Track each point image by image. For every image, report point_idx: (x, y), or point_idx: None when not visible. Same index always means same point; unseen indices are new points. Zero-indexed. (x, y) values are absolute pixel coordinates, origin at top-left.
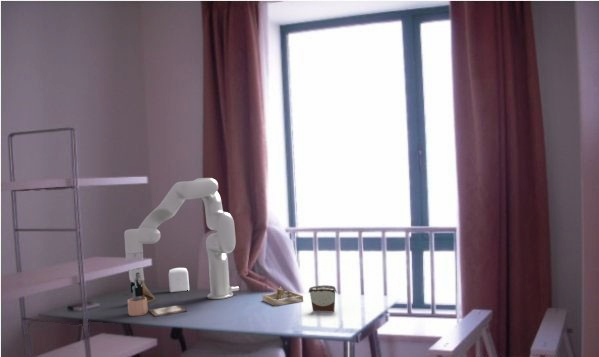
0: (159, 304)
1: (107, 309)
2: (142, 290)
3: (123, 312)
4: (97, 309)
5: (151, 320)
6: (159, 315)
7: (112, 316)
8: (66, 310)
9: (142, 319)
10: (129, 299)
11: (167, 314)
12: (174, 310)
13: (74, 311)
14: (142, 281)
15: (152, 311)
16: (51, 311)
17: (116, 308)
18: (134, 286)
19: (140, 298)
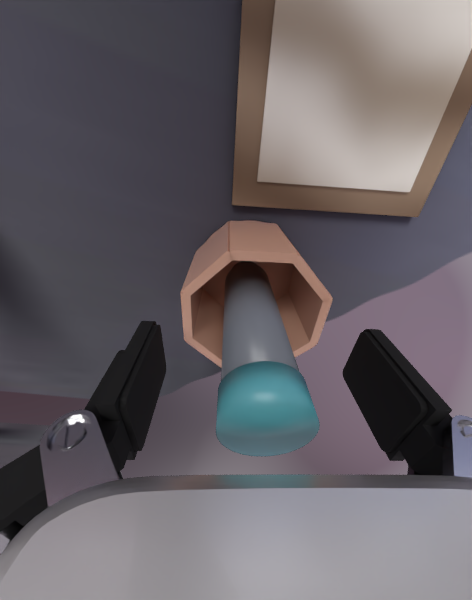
0: (21, 20)
1: (48, 355)
2: (413, 368)
3: (161, 318)
4: (29, 381)
5: (455, 255)
6: (429, 186)
7: (210, 362)
8: (3, 441)
9: (386, 284)
10: (219, 358)
11: (458, 119)
12: (467, 5)
13: (32, 429)
14: (466, 486)
15: (300, 196)
16: (3, 462)
17: (42, 324)
18: (288, 446)
19: (270, 303)
